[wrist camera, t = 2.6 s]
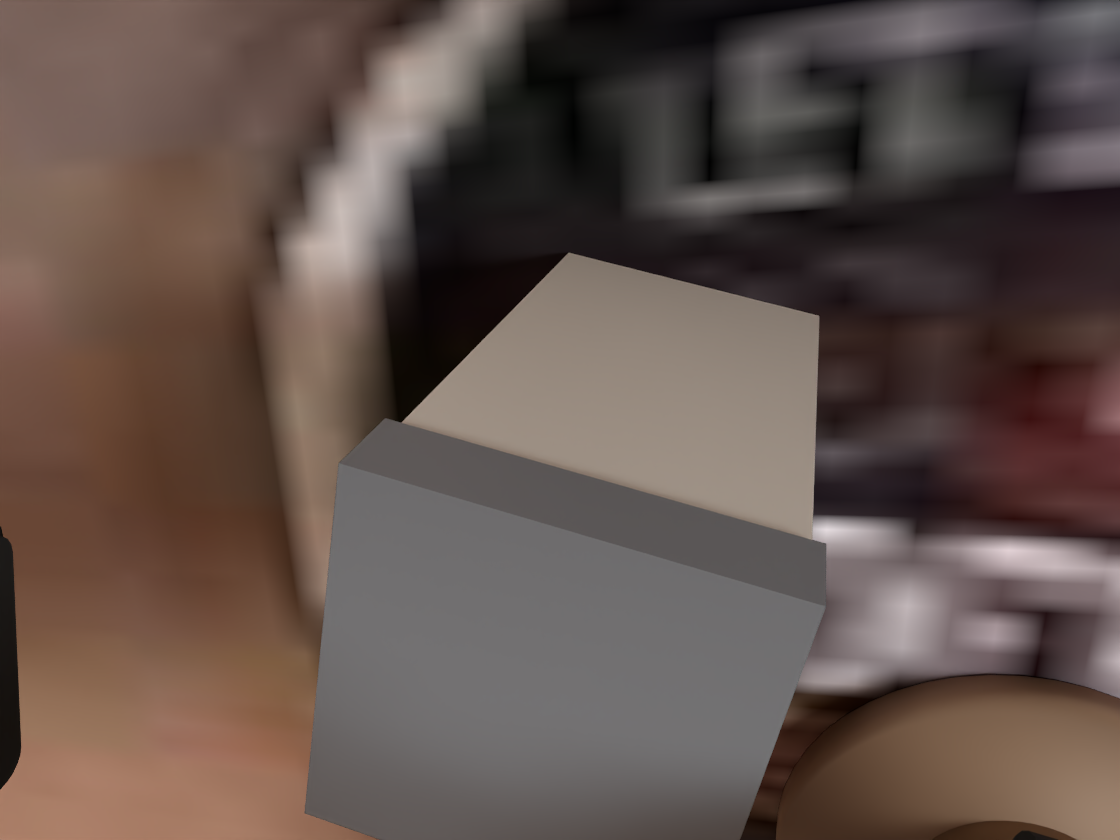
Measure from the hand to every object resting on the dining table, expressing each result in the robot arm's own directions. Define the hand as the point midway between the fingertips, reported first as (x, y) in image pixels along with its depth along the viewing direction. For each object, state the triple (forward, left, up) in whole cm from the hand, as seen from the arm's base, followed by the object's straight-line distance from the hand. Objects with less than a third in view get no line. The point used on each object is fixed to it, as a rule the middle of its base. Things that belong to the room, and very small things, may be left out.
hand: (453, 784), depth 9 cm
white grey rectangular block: (-1, +1, -8) cm, 8 cm away
